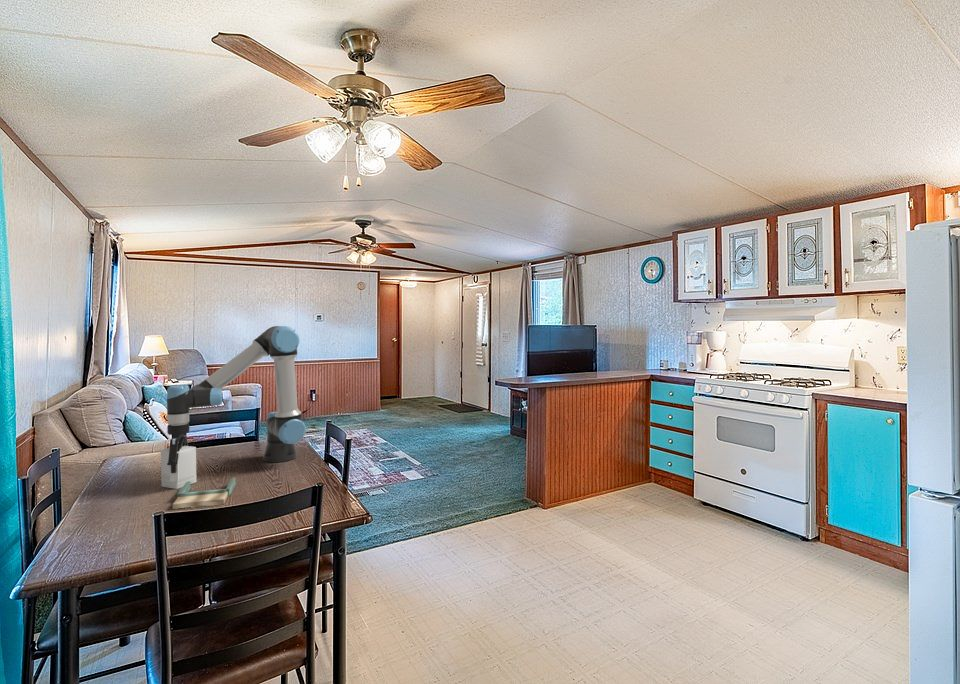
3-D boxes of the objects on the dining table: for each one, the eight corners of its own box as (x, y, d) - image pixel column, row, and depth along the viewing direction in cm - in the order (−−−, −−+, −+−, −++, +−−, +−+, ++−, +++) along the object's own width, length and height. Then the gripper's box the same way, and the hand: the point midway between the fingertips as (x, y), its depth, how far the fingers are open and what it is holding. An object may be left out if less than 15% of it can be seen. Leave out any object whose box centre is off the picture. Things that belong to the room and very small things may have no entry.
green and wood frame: (235, 484, 191) (235, 477, 191) (225, 504, 170) (225, 496, 170) (187, 489, 185) (187, 481, 185) (170, 509, 164) (170, 501, 164)
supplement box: (197, 482, 193) (197, 446, 193) (177, 489, 185) (176, 452, 184) (181, 479, 196) (180, 444, 196) (160, 486, 188) (159, 449, 187)
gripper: (176, 418, 200) (177, 467, 201) (157, 430, 176) (158, 486, 177) (196, 417, 202) (197, 465, 203) (180, 429, 179) (181, 484, 180)
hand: (179, 475), depth 190 cm, fingers open, 13 cm apart
